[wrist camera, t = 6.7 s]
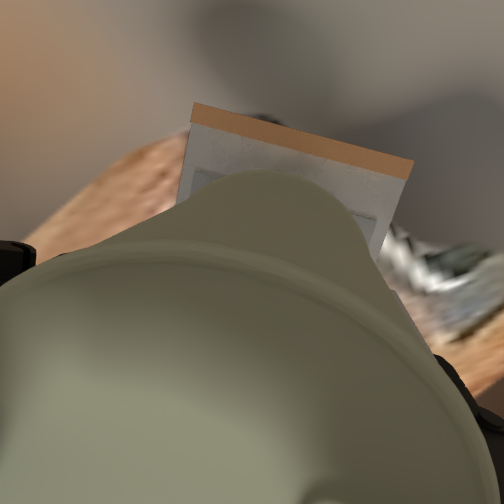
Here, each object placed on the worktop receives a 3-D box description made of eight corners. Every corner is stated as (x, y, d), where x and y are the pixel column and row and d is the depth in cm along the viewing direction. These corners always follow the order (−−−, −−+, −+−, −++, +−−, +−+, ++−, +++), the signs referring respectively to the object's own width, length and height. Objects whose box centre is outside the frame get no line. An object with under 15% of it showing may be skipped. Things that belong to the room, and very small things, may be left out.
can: (356, 382, 18) (449, 817, 6) (160, 359, 19) (-62, 699, 7) (387, 177, 15) (637, 291, 4) (158, 162, 16) (-193, 217, 5)
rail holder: (167, 263, 33) (144, 284, 28) (199, 104, 29) (178, 97, 24) (352, 316, 32) (360, 347, 28) (409, 160, 28) (430, 164, 24)
